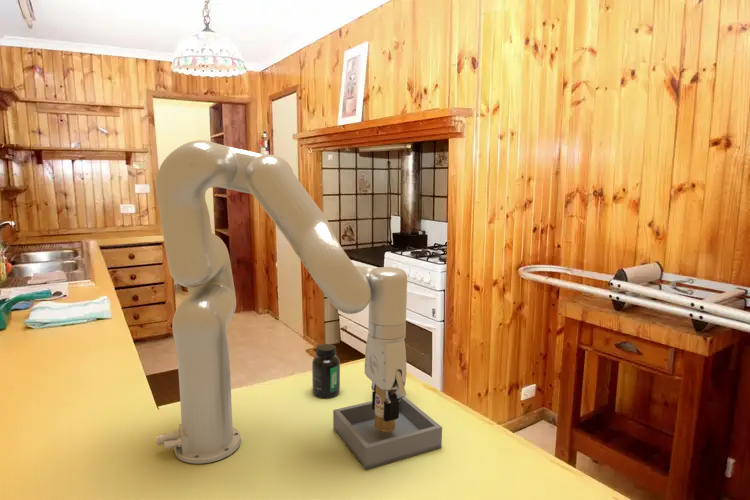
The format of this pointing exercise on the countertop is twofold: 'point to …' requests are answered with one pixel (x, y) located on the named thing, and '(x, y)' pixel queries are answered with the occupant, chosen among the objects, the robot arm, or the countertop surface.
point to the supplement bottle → (326, 372)
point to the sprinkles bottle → (382, 412)
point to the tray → (386, 434)
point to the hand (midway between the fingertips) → (385, 413)
